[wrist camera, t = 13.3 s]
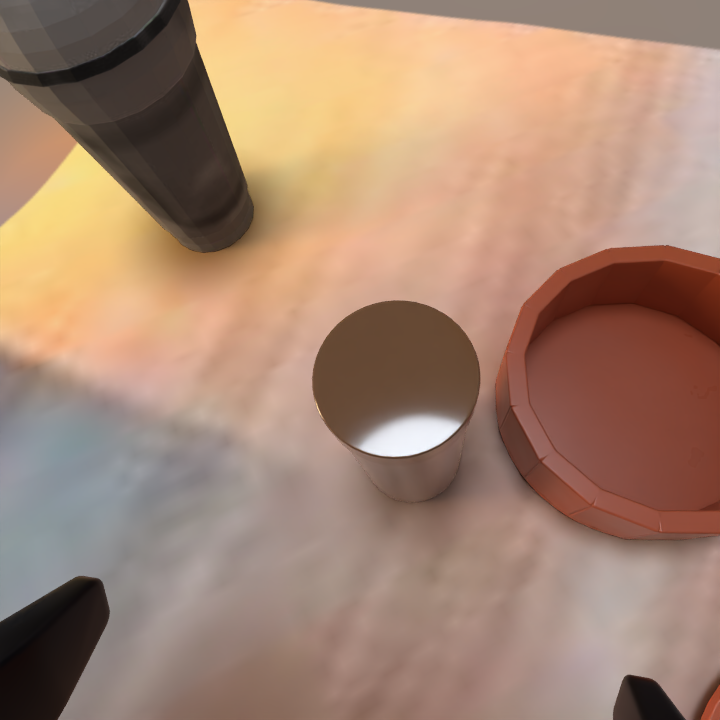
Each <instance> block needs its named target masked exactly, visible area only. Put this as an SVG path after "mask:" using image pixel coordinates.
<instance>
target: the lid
mask: <svg viewBox="0 0 720 720" xmlns="http://www.w3.org/2000/svg"><path fill="white" fill-rule="evenodd" d="M701 720H720V685H719V686H718V688H717V689H716V691H715V692H714V694H713V696H712V697H711V699H710V700H709V702H708V704H707V706H706V708H705V711H704V713H703V715H702V717H701Z"/></svg>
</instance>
